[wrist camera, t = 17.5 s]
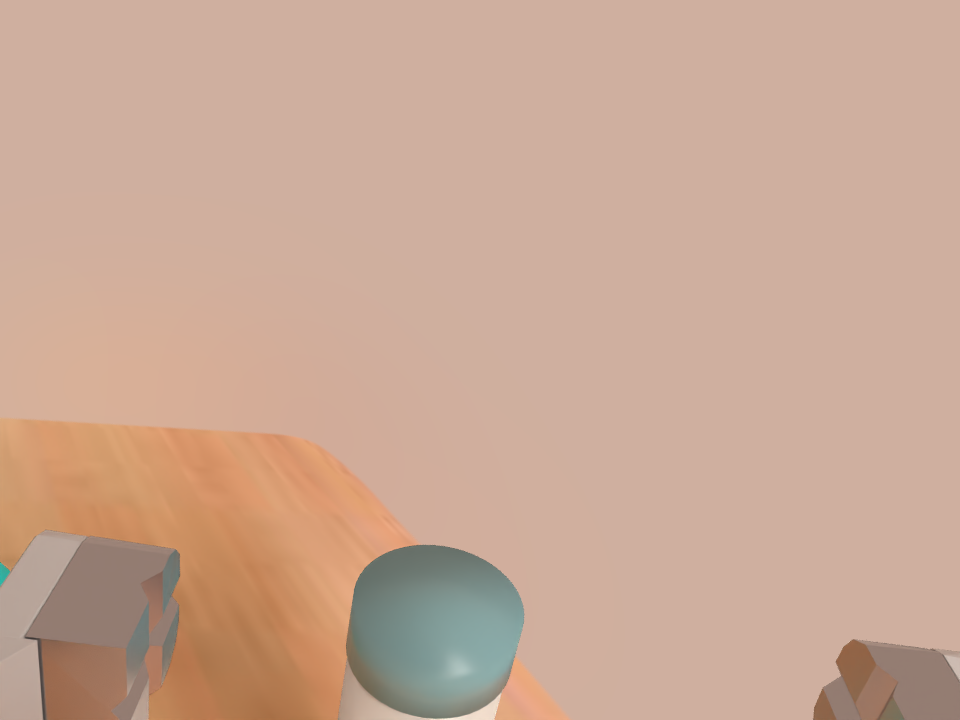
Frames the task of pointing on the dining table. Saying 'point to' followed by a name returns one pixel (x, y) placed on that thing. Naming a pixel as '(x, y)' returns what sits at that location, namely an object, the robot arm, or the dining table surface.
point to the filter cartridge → (429, 637)
